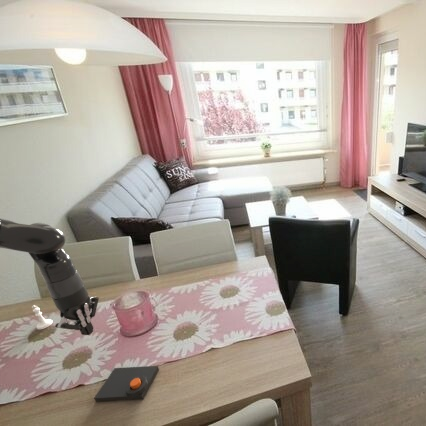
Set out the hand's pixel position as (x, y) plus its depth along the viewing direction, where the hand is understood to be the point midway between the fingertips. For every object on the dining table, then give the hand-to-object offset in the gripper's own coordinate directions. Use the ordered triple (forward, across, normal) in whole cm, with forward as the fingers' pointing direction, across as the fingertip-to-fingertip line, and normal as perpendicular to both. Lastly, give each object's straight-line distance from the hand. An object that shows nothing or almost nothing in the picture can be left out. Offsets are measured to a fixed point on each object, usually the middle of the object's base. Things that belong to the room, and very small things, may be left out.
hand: (88, 333), depth 91 cm
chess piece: (+16, -16, -41) cm, 47 cm away
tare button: (+13, +6, +17) cm, 22 cm away
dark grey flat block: (+16, +4, +12) cm, 21 cm away
